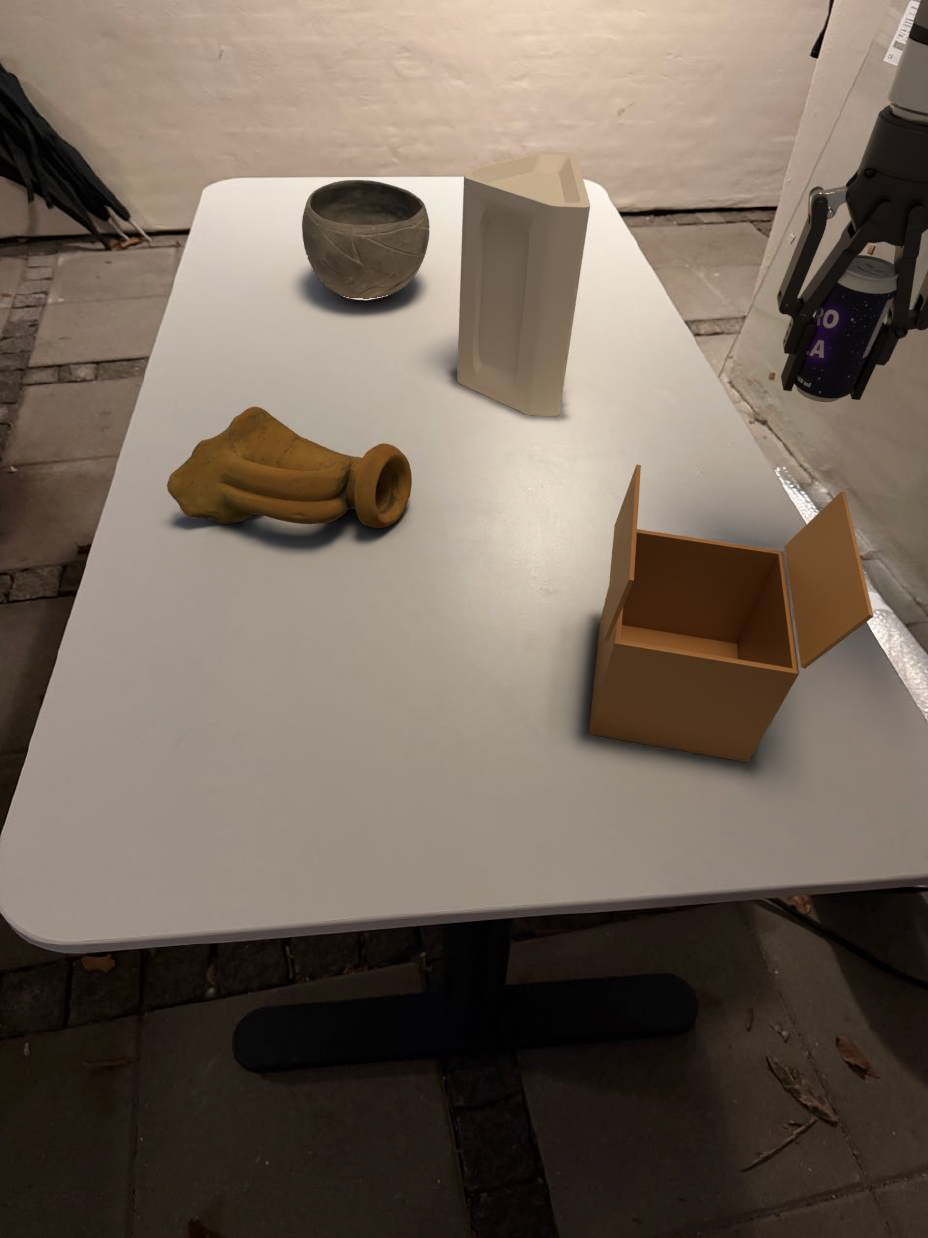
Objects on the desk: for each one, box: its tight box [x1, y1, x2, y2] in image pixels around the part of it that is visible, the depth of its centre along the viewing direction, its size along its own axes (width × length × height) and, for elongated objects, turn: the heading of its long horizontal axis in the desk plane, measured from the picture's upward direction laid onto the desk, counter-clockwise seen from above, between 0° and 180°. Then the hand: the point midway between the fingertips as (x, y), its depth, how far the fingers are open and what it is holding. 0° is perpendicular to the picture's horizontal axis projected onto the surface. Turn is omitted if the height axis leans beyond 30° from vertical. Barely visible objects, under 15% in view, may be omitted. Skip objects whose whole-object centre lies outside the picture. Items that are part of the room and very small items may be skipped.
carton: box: [588, 464, 800, 763], centre depth 71 cm, size 16×15×21 cm
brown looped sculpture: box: [166, 406, 413, 529], centre depth 90 cm, size 18×13×22 cm
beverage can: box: [794, 254, 898, 403], centre depth 71 cm, size 6×6×12 cm
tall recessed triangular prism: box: [456, 151, 591, 417], centre depth 106 cm, size 19×15×28 cm
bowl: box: [301, 179, 431, 299], centre depth 129 cm, size 21×21×15 cm
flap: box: [784, 490, 875, 670], centre depth 65 cm, size 7×15×1 cm
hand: (819, 387), depth 75 cm, fingers closed on beverage can, 6 cm apart
